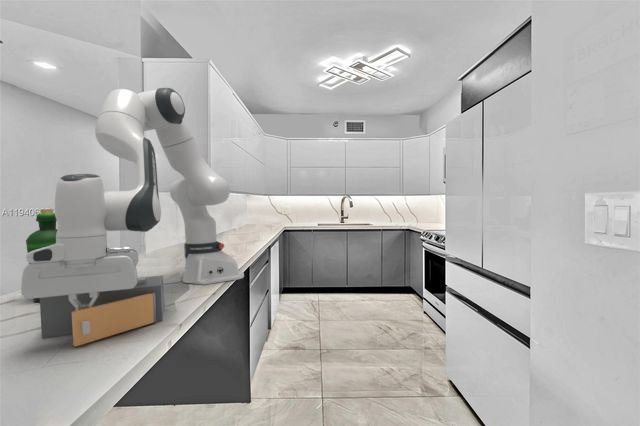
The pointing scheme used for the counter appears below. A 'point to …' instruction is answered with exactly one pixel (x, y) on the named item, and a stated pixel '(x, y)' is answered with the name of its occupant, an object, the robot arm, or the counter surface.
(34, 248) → the bottle
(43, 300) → the grey cabinet
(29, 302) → the counter surface
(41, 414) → the counter surface
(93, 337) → the side door
